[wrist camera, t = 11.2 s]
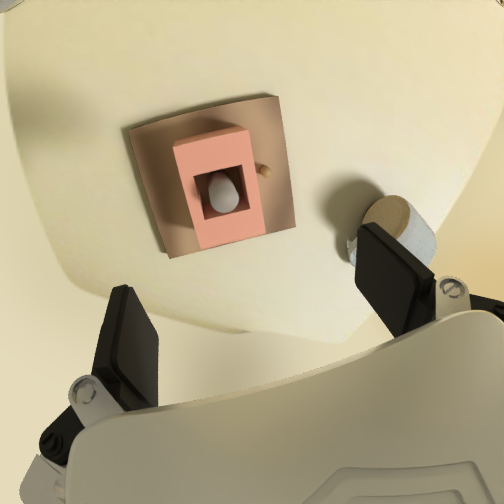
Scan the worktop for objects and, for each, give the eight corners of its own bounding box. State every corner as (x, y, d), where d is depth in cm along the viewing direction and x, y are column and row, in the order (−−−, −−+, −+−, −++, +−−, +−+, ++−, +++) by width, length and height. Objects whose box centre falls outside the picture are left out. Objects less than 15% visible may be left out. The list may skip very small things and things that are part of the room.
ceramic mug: (383, 182, 31) (423, 207, 24) (412, 216, 34) (448, 243, 28) (330, 247, 34) (359, 284, 28) (366, 272, 38) (393, 307, 32)
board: (169, 254, 30) (166, 290, 25) (130, 129, 23) (112, 139, 17) (292, 223, 31) (315, 252, 26) (275, 96, 24) (299, 95, 18)
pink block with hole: (175, 140, 23) (172, 147, 20) (240, 125, 24) (248, 129, 21) (199, 230, 28) (201, 249, 25) (256, 216, 29) (266, 233, 26)
